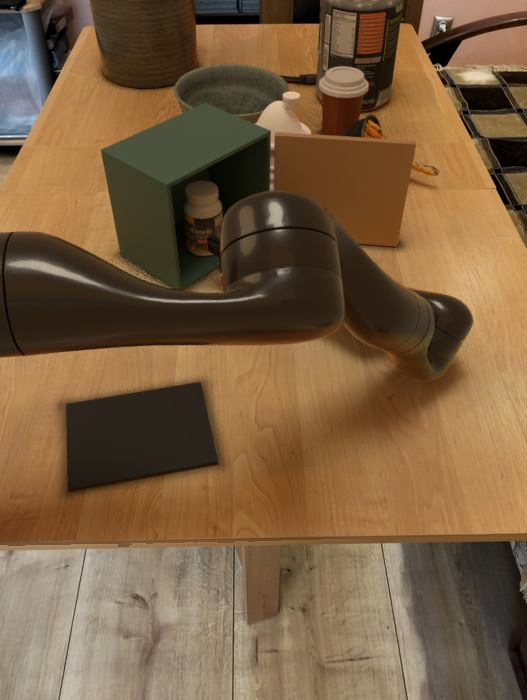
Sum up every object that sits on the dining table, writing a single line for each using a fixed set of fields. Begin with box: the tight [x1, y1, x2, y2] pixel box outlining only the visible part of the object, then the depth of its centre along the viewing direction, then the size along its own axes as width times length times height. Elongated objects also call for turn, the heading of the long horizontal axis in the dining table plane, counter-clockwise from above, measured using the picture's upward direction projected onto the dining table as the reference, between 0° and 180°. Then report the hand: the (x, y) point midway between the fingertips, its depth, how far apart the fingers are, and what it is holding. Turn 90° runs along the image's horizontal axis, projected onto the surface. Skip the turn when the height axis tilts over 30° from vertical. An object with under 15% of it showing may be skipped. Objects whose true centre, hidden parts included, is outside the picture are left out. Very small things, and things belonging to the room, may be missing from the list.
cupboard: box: [100, 103, 271, 291], centre depth 93 cm, size 13×19×17 cm
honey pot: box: [255, 91, 312, 191], centre depth 102 cm, size 13×13×18 cm
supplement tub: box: [315, 0, 404, 112], centre depth 127 cm, size 16×16×26 cm
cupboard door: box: [274, 132, 417, 248], centre depth 95 cm, size 6×19×17 cm, turn 83°
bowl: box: [173, 63, 290, 124], centre depth 120 cm, size 21×21×10 cm
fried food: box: [342, 113, 440, 177], centre depth 112 cm, size 9×11×18 cm
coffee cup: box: [319, 66, 369, 136], centre depth 119 cm, size 9×9×12 cm
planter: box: [88, 0, 199, 89], centre depth 139 cm, size 22×22×20 cm
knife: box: [278, 73, 317, 85], centre depth 142 cm, size 28×2×5 cm
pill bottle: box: [183, 181, 223, 256], centre depth 94 cm, size 6×6×10 cm
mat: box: [65, 381, 219, 493], centre depth 73 cm, size 16×12×1 cm
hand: (230, 228), depth 90 cm, fingers open, 8 cm apart
